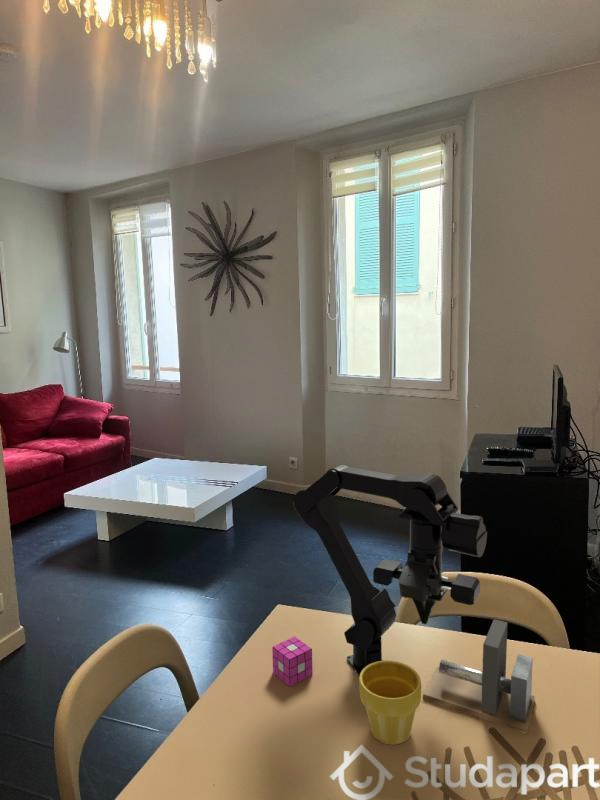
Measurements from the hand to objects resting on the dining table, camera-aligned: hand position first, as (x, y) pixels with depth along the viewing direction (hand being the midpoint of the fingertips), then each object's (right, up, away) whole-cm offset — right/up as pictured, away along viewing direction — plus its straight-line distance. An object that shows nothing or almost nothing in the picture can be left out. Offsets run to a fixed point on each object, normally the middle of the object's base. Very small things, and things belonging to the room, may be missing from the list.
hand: (424, 623), depth 103 cm
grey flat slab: (+12, -12, -4) cm, 17 cm away
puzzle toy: (-25, -13, +7) cm, 29 cm away
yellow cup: (-8, -15, -9) cm, 19 cm away
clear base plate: (+9, -13, -2) cm, 16 cm away
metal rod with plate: (+10, -12, -3) cm, 16 cm away
